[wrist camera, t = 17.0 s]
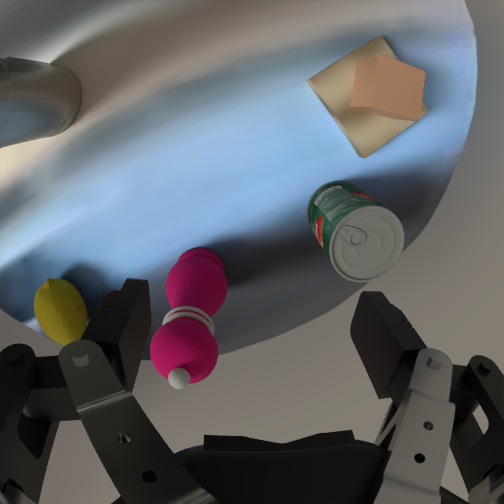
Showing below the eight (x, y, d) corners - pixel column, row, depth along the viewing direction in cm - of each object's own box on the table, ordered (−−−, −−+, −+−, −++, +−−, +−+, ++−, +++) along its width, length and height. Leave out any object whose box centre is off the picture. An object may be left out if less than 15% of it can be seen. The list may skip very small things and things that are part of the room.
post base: (305, 81, 32) (321, 73, 26) (374, 38, 30) (400, 26, 23) (358, 156, 36) (383, 165, 29) (420, 111, 33) (452, 113, 27)
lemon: (43, 264, 40) (16, 291, 32) (86, 266, 40) (61, 296, 33) (60, 324, 44) (39, 355, 37) (100, 328, 44) (83, 362, 37)
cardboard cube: (356, 61, 29) (378, 53, 24) (399, 75, 30) (425, 71, 24) (349, 107, 31) (370, 106, 26) (392, 119, 32) (418, 121, 27)
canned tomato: (376, 199, 38) (418, 229, 28) (345, 250, 41) (376, 293, 31) (325, 169, 36) (358, 190, 26) (294, 224, 39) (314, 264, 29)
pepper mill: (230, 246, 40) (227, 357, 22) (225, 295, 43) (221, 416, 24) (173, 241, 39) (127, 346, 21) (172, 290, 42) (138, 407, 24)
